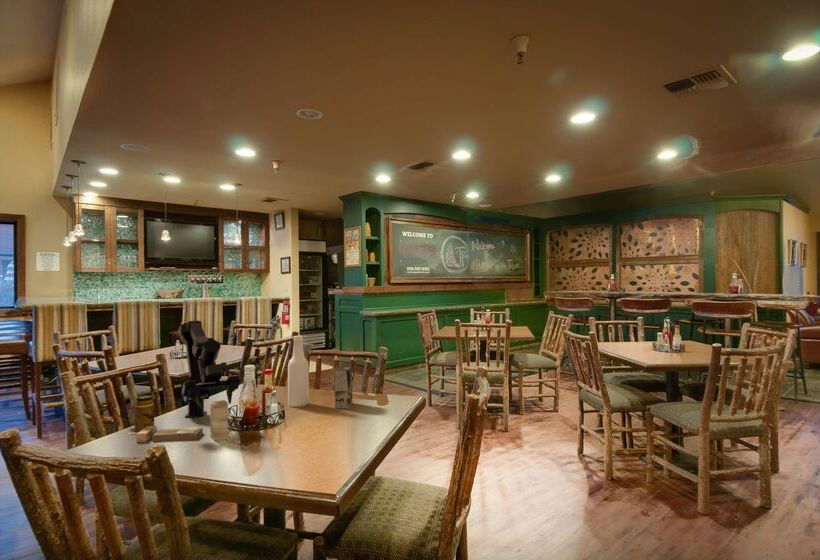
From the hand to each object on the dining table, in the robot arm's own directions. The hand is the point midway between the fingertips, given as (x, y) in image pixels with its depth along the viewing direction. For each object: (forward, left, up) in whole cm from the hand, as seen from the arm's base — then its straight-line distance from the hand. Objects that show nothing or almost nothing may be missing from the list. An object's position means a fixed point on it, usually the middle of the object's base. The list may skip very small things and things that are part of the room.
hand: (216, 405), depth 154 cm
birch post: (+3, +2, -10) cm, 11 cm away
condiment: (-10, -28, -11) cm, 32 cm away
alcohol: (-37, +24, -10) cm, 45 cm away
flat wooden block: (0, -12, -10) cm, 16 cm away
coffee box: (-32, +43, -10) cm, 55 cm away
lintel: (-1, -23, -11) cm, 25 cm away
